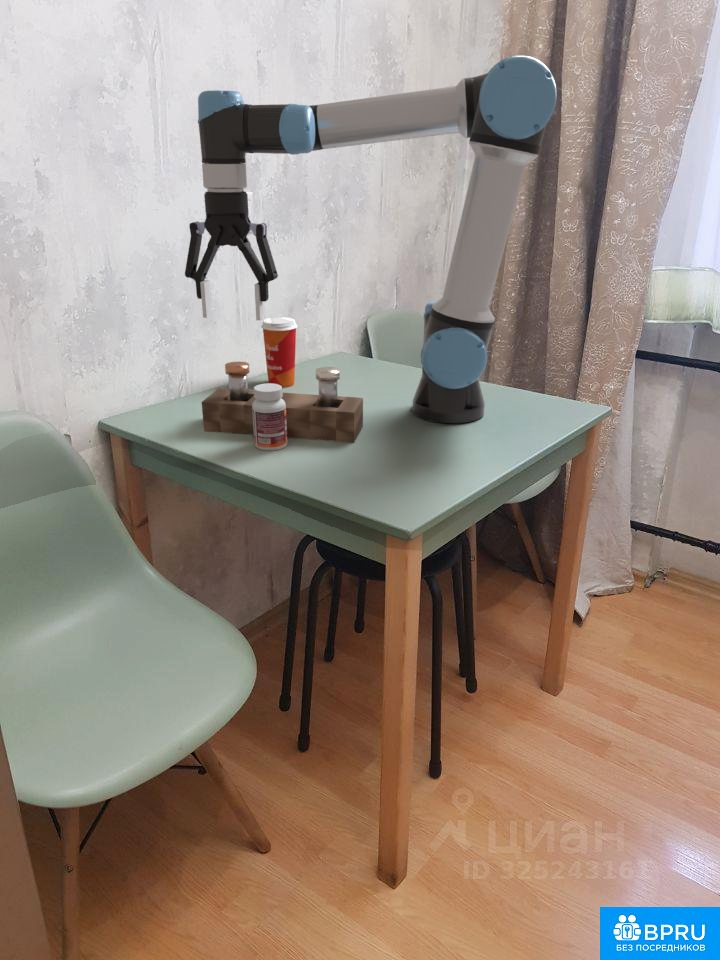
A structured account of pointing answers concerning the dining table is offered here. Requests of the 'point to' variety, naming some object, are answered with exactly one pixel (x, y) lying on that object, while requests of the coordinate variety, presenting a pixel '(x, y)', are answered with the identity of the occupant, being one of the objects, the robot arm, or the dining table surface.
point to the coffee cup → (280, 350)
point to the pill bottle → (269, 417)
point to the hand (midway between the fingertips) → (233, 317)
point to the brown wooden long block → (287, 416)
